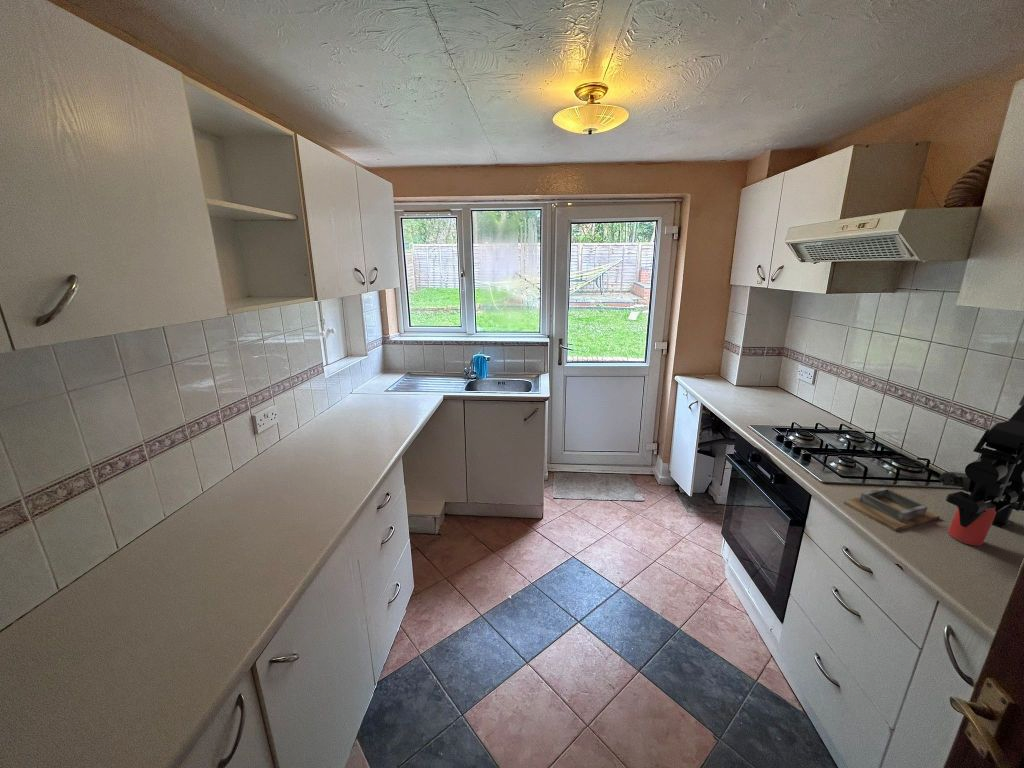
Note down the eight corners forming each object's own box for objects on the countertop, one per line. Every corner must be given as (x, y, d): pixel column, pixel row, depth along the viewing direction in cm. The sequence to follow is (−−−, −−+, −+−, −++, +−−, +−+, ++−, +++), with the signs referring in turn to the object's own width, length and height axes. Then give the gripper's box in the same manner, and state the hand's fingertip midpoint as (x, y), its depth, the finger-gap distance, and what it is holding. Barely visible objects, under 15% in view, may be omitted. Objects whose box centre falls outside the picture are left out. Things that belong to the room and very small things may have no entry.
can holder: (885, 493, 132) (889, 482, 131) (939, 518, 120) (943, 507, 118) (843, 503, 126) (846, 492, 125) (895, 531, 114) (899, 519, 113)
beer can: (962, 531, 114) (977, 495, 110) (989, 546, 108) (1006, 509, 104) (940, 531, 114) (955, 495, 110) (966, 547, 108) (982, 509, 104)
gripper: (972, 455, 115) (953, 501, 119) (931, 464, 109) (913, 512, 114) (1029, 474, 105) (1006, 524, 109) (987, 485, 99) (965, 537, 104)
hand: (970, 523), depth 109 cm, fingers closed on beer can, 7 cm apart
